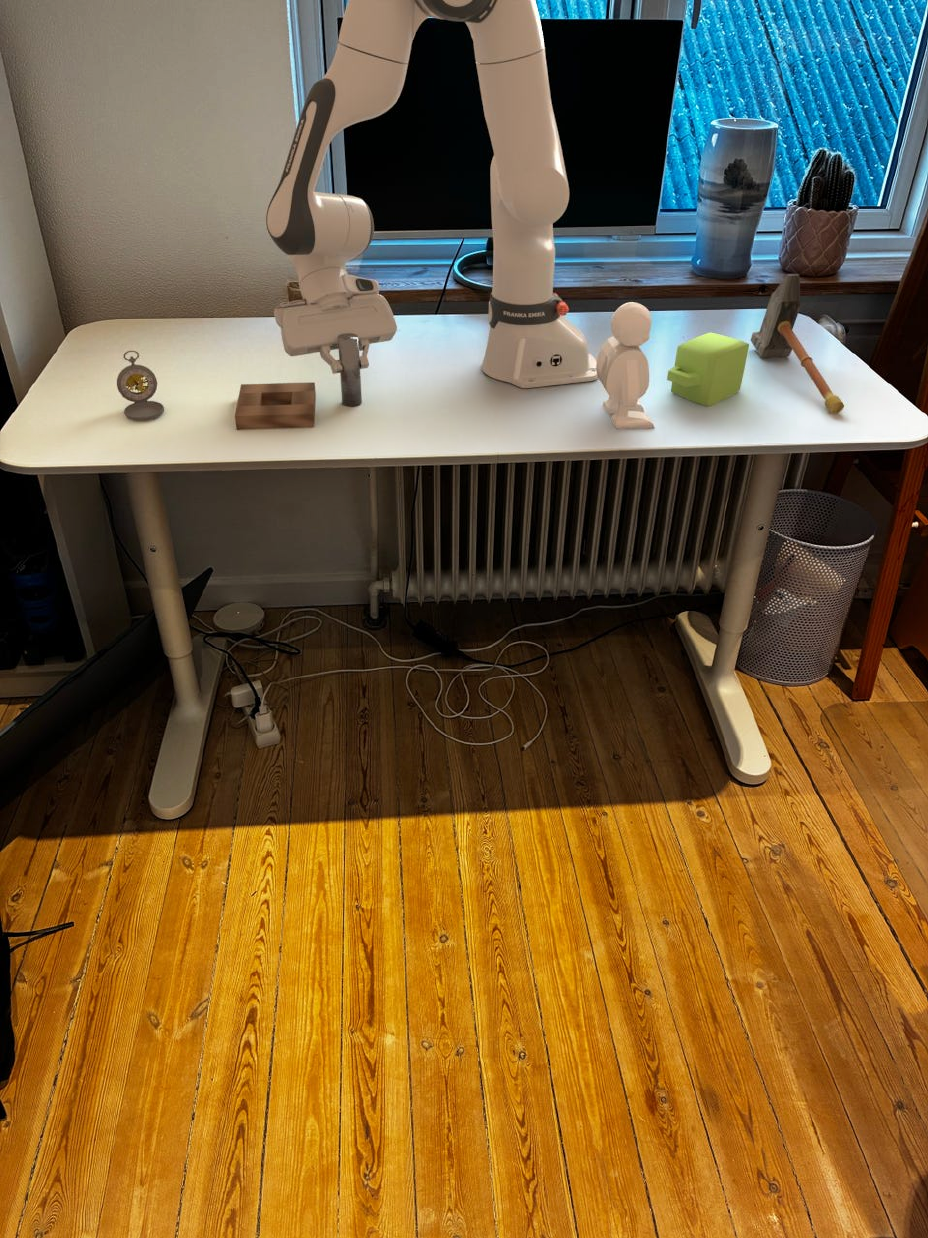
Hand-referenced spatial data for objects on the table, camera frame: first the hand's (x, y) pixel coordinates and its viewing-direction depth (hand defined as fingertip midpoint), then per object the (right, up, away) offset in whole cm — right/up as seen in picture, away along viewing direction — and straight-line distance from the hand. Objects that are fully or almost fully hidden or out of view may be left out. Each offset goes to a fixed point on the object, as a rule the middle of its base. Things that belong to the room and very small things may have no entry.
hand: (351, 369), depth 166 cm
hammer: (+83, +2, +16) cm, 85 cm away
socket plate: (-13, -7, +1) cm, 15 cm away
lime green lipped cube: (+64, -1, +11) cm, 65 cm away
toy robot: (+47, -8, +2) cm, 48 cm away
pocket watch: (-36, -7, 0) cm, 37 cm away
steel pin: (0, -5, +4) cm, 6 cm away
